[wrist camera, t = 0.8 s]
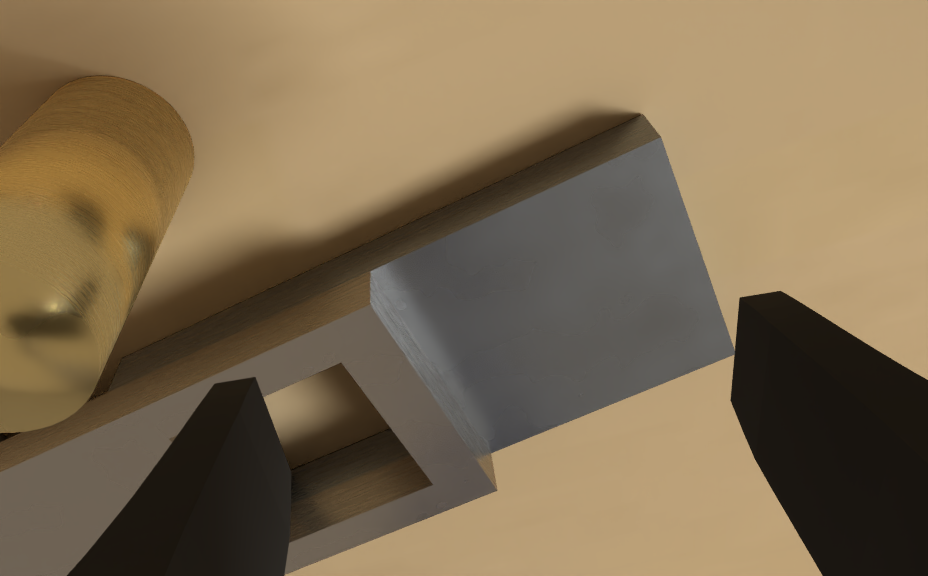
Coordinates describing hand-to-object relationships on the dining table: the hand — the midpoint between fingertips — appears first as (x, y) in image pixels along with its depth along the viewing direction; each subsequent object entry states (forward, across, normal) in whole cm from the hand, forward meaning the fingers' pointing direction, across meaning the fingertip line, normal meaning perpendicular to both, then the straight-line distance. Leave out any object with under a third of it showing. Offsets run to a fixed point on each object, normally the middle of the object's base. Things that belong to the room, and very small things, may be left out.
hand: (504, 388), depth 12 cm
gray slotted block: (+10, +5, +8) cm, 13 cm away
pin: (+10, +8, -1) cm, 13 cm away
